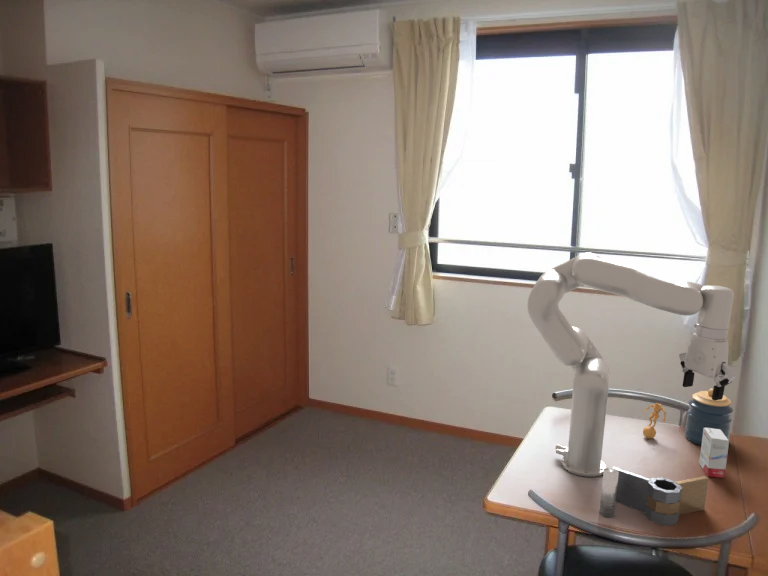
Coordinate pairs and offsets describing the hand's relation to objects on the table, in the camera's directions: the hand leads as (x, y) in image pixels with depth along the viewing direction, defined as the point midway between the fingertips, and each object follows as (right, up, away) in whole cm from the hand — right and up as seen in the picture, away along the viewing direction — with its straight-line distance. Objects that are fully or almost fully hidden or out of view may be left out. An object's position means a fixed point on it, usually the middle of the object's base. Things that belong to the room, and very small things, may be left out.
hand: (701, 392), depth 172 cm
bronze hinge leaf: (-11, -30, -9) cm, 33 cm away
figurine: (+1, -21, +36) cm, 42 cm away
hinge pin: (-29, -30, -9) cm, 43 cm away
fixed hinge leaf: (-19, -29, -7) cm, 36 cm away
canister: (+19, -21, +35) cm, 46 cm away
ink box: (+10, -26, +15) cm, 31 cm away
